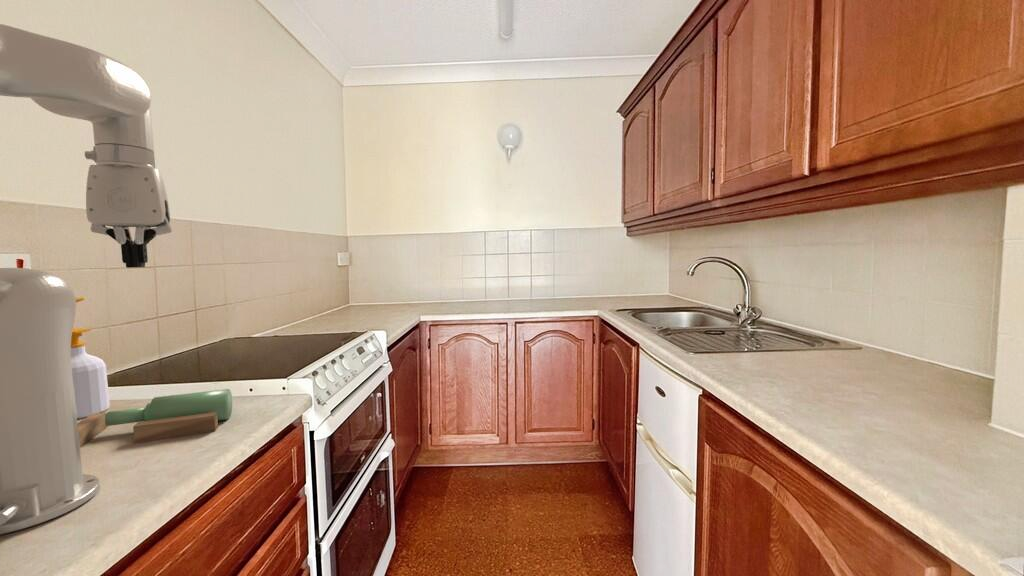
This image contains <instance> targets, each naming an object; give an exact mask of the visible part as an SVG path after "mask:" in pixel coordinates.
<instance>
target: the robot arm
mask: <svg viewBox="0 0 1024 576" xmlns="http://www.w3.org/2000/svg"><path fill="white" fill-rule="evenodd" d="M0 97H13V98H14V97H15V98H25V99H26V98H28V99H31V100H32V101H33V102H34V103H35V104H37V105H38V106H40V108H43V109H44V110H46V111H47V112H51V113H52V114H54V115H59V116H62V117H67V118H71V119H76V120H84V121H88V122H90V123H91V124H92V130H93V133H92V134H93V139H94V140H93V142H94V146H93V147H92V150H90V151H89V150H85V151H84V157H85V159H86V160H91V161H94V163H96V164H90V165H89V167H88V172H87V178H86V189H85V212H86V218H87V221H88V222H89V223H91V226H90V231H91V232H92V233H94V234H95V233H96V234H100V235H106V236H108V237H110V238H111V239H113V240H114V241H116V243H118V244H119V245H120V249H121V250H120V251H121V260H122V263H123V264H125V267H126V268H127V269H132V268H145V267H146V263H148V260H149V259H148V247H147V245H148V244H149V243H150V242H151V241H152V240H153V239H155V238H156V237H157V236H161V235H166V234H171V233H172V231H173V229H172V228H171V224H170V222H171V213H170V205H169V204H170V203H169V200H168V194H167V190H166V186H165V182H164V179H163V175H162V173H161V171H160V170H159V169H157V168H156V159H155V148H154V139H153V138H154V135H153V124H152V123H153V121H152V113H151V112H152V110H151V102H152V98H151V97H152V96H151V92H150V89H149V87H148V85H147V83H146V82H145V81H144V79H143V78H142V76H140V74H138V73H137V72H136V71H135V70H134V69H132V68H131V67H130V66H128V65H127V64H125V63H123V62H121V61H119V60H117V59H115V58H112V57H111V56H108V55H106V54H105V53H102V52H99V51H96V50H94V49H92V48H89V47H85V46H82V45H80V44H76V43H73V42H68V41H65V40H62V39H58V38H54V37H50V36H46V35H42V34H38V33H35V32H32V31H28V30H24V29H22V28H18V27H13V26H10V25H5V24H2V23H0ZM130 228H135V231H134V232H135V233H134V240H133V237H132V234H131V230H130ZM76 298H77V297H76V294H75V291H74V290H73V289H72V286H70V284H68V283H67V282H66V280H64V279H63V278H61V277H59V276H58V275H56V274H53V273H52V272H51V273H50V272H47V271H44V270H40V269H35V268H27V267H0V535H3V534H4V535H5V534H9V533H11V532H12V533H13V532H16V531H20V530H24V529H27V528H30V527H33V526H36V525H39V524H42V523H45V522H47V521H50V520H52V519H56V518H57V517H59V516H62V515H64V514H66V513H69V512H70V511H73V510H74V509H77V508H78V507H80V506H82V505H83V504H85V503H86V502H88V501H90V499H92V498H93V497H94V496H95V495H96V494H97V493H98V492H99V489H100V479H99V477H97V476H95V475H93V474H86V473H83V464H82V463H83V462H82V453H81V448H80V443H79V433H78V419H77V414H76V404H75V395H74V385H73V377H72V366H71V337H72V330H73V329H74V323H75V318H76V314H77V313H76V312H77V302H76Z"/></svg>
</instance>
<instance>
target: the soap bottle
mask: <svg viewBox="0 0 1024 576" xmlns="http://www.w3.org/2000/svg"><path fill="white" fill-rule="evenodd" d="M75 298H76V303H79V302H82V301H85V299H86V298H85V297H75ZM87 332H91V328H73V330H72V337H71V366H72V377H73V385H74V395H75V404H76V414H77V420H78V419H83V418H84V419H85V418H87V417H88V416H90V415H91V414H96V413H104V412H105V411H107V410H108V409H109V408H110V406H111V405H110V395H109V394H110V393H109V383H108V374H107V364H106V363H105V361H104V360H103V359H102V358H100V357H98V356H95V355H91V354H88V353H87V352H86V344H85V342H80V340H79V339H80V338H79V337H82V336H83V333H87Z"/></svg>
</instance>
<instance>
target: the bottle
mask: <svg viewBox="0 0 1024 576" xmlns="http://www.w3.org/2000/svg"><path fill="white" fill-rule="evenodd" d="M232 395H233V394H232V391H231V389H229V388H225V389H215V390H207V391H199V392H198V391H197V392H190V393H181V394H170V395H162V396H154V397H153V398H152V399H151V402H149V403H148V402H147V404H146V405H145V406H143V407H136V408H129V409H127V408H126V409H120V410H112V411H111V410H110V411H107V412H106V416H105V424H106V425H107V427H110V426H111V427H112V426H118V425H125V424H132V423H133V424H134V423H138V422H144V421H152V420H159V419H167V418H174V417H182V416H189V415H197V414H204V413H212V412H217V420H218V421H223V420H224V421H225V420H229V419H230V418H231V417H232V411H233V396H232Z"/></svg>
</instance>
